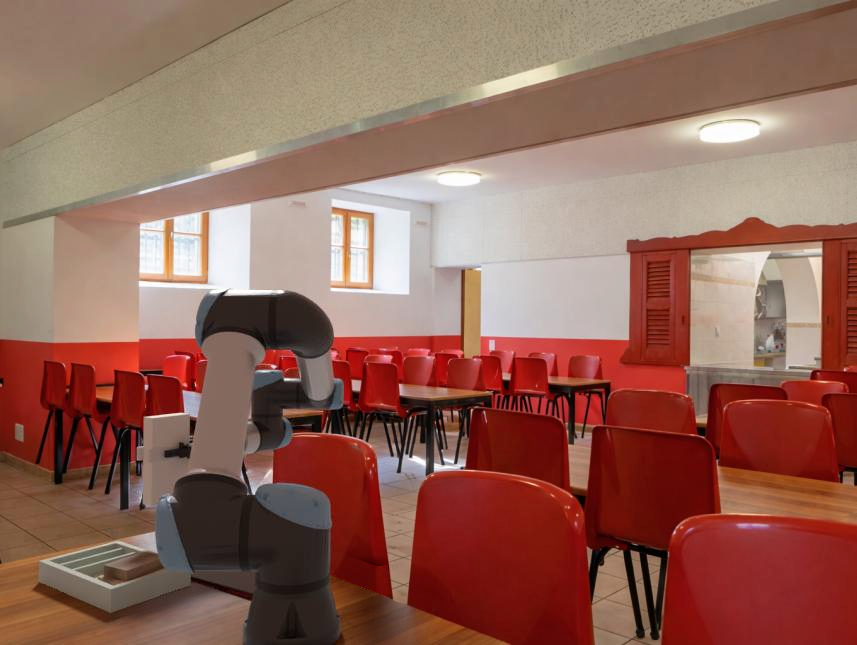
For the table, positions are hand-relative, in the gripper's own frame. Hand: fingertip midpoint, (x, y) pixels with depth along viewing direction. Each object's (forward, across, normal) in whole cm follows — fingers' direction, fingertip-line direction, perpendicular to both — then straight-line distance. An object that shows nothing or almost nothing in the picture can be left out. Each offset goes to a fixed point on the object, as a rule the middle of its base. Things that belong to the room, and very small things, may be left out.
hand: (143, 454), depth 146 cm
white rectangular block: (-5, 0, -10) cm, 12 cm away
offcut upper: (+9, -12, -19) cm, 24 cm away
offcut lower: (+10, -13, -21) cm, 26 cm away
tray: (+10, -6, -22) cm, 25 cm away
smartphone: (-6, -21, -23) cm, 31 cm away
